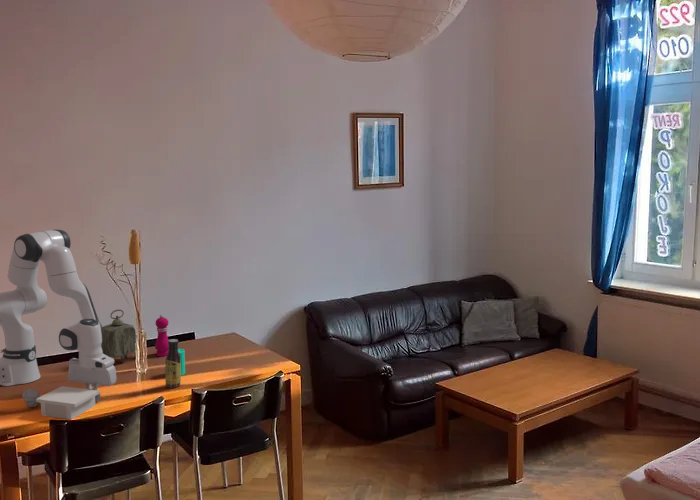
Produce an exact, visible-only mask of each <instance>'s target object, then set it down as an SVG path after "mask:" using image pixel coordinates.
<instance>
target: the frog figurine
mask: <svg viewBox="0 0 700 500" xmlns="http://www.w3.org/2000/svg"><path fill="white" fill-rule="evenodd" d="M21 396H22V397H21V398H22V399H23V401H24V404H25V405H26V406H28V407H29V408H34V407H35V408H36V406H38V405H39V404H40V402H36V399H37V398H39V397H41V396H42V395H41V394H40V392H39V391H37V390H35V389H34V388H27V389H26V390H24V391H23V392H22V394H21Z"/></svg>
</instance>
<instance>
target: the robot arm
mask: <svg viewBox="0 0 700 500" xmlns="http://www.w3.org/2000/svg"><path fill="white" fill-rule="evenodd" d="M71 243H72V241H71V238H70V236H69V233H67V231H65V230H62V229H50V230H49V229H47V230H39V231H35V232H31V233H25V234H21V235H19V236H17V237H16V239H15V240H14V244H13V249H12V252H11V255H10V260H9V266H8V271H7V279H8V281H9V282H10V283H11V284H12V285H14V286H16V288H15V289H14V290H10V291H5V292H0V327H1V329H2V331H3V335H4V336H3V337H4V343H5V348H3V349H0V354H1V353H3V354H2V357H0V386H3V387H10V386H14V385H23V384H28V383H32V382H33V383H34V382H35V381H37V380H39V379H41V376H42V375H41V374H40V369H39V367H38V366H39V365H38V361H37V357H36V355H37V348H36V347H37V346H36V344H35V335H34V333H35V332H34V328H33V327H32V326H31V325H30V324H28V323H25V322H23V321H22V317H21V316H25V315H29V314H33V313H37V312H38V311H40V310H43V309H44V308H45V307H46V306H47V304H48V296H47V293H46V291H45V290H44V289H43V288H41V287H40V286H39V284H38V275H39V274H38V273H39V269H40V264H41V262H43V264H44V266H45V270H46V277H47V283H48V286H49V288H50V290H51V291H52V292H53V294H56V295H58V296H61V297H66V298H70V299H72V300H74V301H75V302H76V303H77V306H78V310H79V312H80V316H81V318H82V319H81V320H79V321H78V322H76V323H75V324H73V325H69V326H66V327H64V328H62V329H60V331H59V333H58V334H59V335H58V343H59V345H60V347H61V348H62V349H63V350H66V351H75V350H77V351H78V358H76V357H72V358H70V359H69V361H68V372H67V379H68V380H69V381H70V382H77V383H85V384H84V385H85V387H86V389H89V390H97V391H98V388H99V386H100V385H102V386H109V387H110V386H113V385H114V384H115V383H116V382H117V371H116V366H114V364H115V358H112V357H108V356H107V355H105V354H103V351H102V348H101V344H102V337H103V332H104V331H103V327H104V326H103V325H102V323H101V321H100V319H99V317H98V314H97V312H96V309H95V305H94V302H93V300H92V296H91V294H90V291H89V289H88V287H87V285H86V284H85V283H82V281H81V280H80V278H79V275H78V271H77V265H76V261H75V259H74V257H73V253H72V252H71V250H70V248H71ZM92 385H93V386H92Z"/></svg>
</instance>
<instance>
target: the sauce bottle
mask: <svg viewBox="0 0 700 500" xmlns="http://www.w3.org/2000/svg"><path fill="white" fill-rule="evenodd" d="M168 344H169V351H168V354H167V356H165V357H166V358H165V366H164V367H165V369H164V370H165V373H164V374H165V379H164V380H165V386H166V387H167V388H173V389H174V388H175V389H176V388H178V387H180V386H181V380H182V375H181V356H180V353H179V352H178V349H179V340H178V339H176V338H173V339H172V338H171V339H169V341H168Z"/></svg>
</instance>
